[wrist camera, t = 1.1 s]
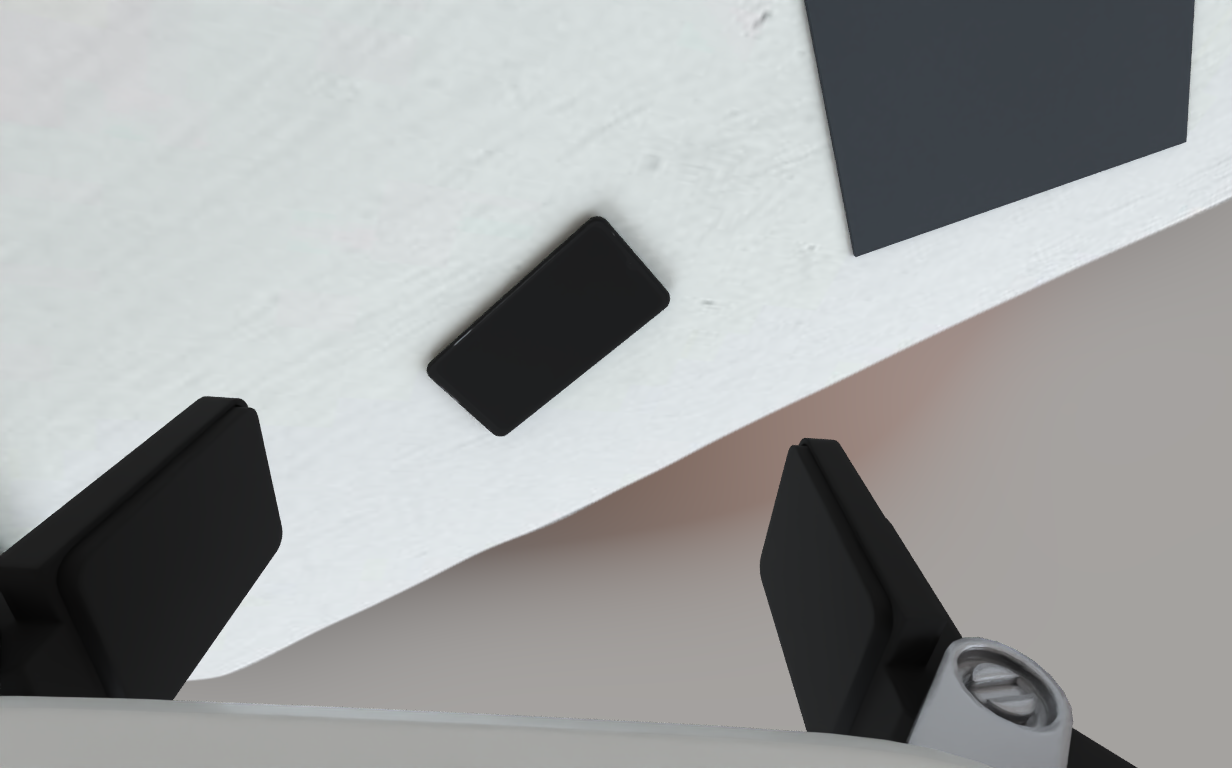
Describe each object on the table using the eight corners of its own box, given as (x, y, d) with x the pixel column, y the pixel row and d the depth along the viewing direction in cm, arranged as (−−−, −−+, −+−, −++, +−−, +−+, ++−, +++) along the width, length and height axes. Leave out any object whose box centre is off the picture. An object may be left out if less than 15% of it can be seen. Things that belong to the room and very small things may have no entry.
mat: (773, -155, 27) (775, -158, 27) (1210, -357, 24) (1216, -363, 24) (853, 255, 36) (855, 257, 35) (1182, 141, 33) (1186, 142, 33)
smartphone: (420, 371, 38) (598, 212, 33) (424, 366, 39) (598, 209, 34) (499, 442, 40) (675, 302, 36) (501, 435, 41) (674, 297, 37)
